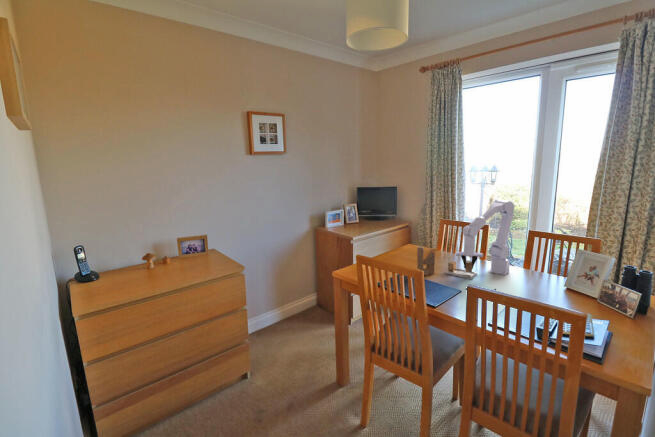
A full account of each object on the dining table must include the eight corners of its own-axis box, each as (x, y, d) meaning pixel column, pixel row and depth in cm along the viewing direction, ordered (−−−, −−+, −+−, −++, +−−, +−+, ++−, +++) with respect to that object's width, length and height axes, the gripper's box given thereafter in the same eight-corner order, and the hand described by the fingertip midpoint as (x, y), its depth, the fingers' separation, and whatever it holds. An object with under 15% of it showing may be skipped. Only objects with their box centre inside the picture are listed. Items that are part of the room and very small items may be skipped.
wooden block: (434, 274, 189) (434, 246, 186) (419, 276, 186) (419, 248, 183) (430, 272, 193) (431, 244, 189) (415, 274, 190) (415, 247, 186)
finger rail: (476, 275, 184) (477, 264, 183) (471, 279, 179) (472, 269, 177) (452, 269, 195) (452, 259, 193) (446, 273, 189) (446, 263, 188)
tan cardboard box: (470, 269, 185) (471, 260, 184) (471, 271, 181) (472, 263, 180) (464, 268, 186) (465, 260, 185) (465, 271, 182) (466, 262, 181)
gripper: (481, 244, 182) (480, 266, 184) (455, 243, 186) (454, 264, 189) (483, 248, 175) (482, 270, 178) (456, 247, 180) (455, 268, 182)
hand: (468, 267), depth 183 cm, fingers closed on tan cardboard box, 3 cm apart
